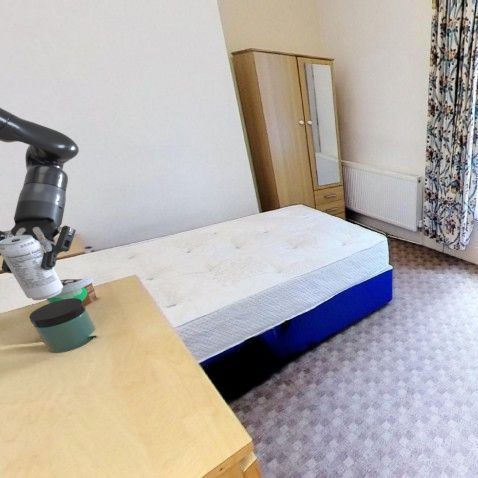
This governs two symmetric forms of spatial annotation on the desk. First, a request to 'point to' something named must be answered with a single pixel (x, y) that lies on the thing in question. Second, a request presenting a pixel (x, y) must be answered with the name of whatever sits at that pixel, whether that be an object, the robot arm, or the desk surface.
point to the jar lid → (57, 312)
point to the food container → (76, 290)
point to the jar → (68, 333)
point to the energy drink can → (30, 267)
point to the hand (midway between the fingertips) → (28, 270)
